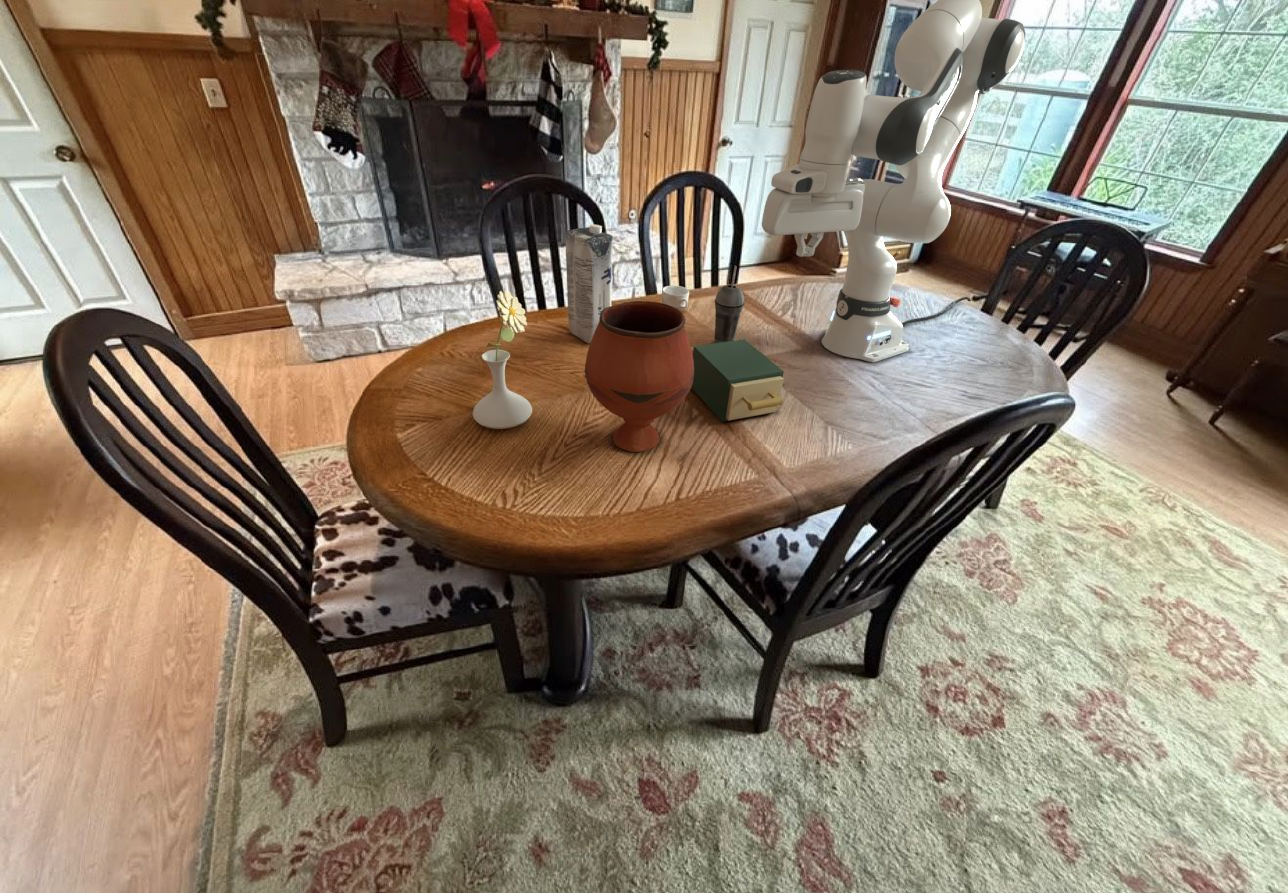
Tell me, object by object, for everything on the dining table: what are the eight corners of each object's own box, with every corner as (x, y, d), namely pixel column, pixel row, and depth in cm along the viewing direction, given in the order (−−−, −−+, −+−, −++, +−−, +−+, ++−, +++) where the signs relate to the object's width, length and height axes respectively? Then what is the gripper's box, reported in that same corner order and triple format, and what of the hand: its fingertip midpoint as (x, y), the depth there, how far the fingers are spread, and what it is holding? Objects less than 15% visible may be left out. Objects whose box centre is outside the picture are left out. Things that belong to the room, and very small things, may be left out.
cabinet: (775, 411, 115) (784, 371, 109) (722, 421, 111) (728, 380, 105) (738, 377, 127) (744, 339, 121) (689, 385, 123) (693, 346, 117)
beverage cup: (705, 348, 139) (715, 269, 127) (713, 337, 144) (723, 260, 132) (733, 354, 136) (745, 274, 125) (740, 342, 142) (753, 265, 130)
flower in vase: (504, 441, 102) (488, 314, 87) (461, 421, 107) (439, 297, 92) (550, 411, 111) (542, 291, 97) (508, 394, 116) (495, 277, 101)
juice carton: (587, 347, 136) (585, 234, 120) (564, 332, 142) (559, 223, 126) (615, 338, 141) (617, 229, 125) (592, 324, 147) (591, 218, 131)
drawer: (787, 421, 111) (795, 388, 106) (738, 431, 107) (744, 397, 102) (741, 378, 124) (747, 347, 120) (696, 386, 121) (700, 354, 116)
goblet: (682, 413, 113) (694, 295, 98) (690, 470, 98) (706, 341, 83) (589, 410, 112) (587, 291, 98) (582, 468, 97) (579, 337, 82)
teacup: (655, 305, 160) (657, 287, 157) (677, 301, 163) (679, 283, 160) (674, 318, 153) (676, 299, 150) (697, 313, 156) (699, 295, 153)
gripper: (856, 173, 105) (837, 247, 113) (764, 176, 98) (752, 254, 107) (878, 180, 100) (857, 256, 108) (783, 183, 94) (769, 264, 102)
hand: (804, 255), depth 107 cm, fingers closed
